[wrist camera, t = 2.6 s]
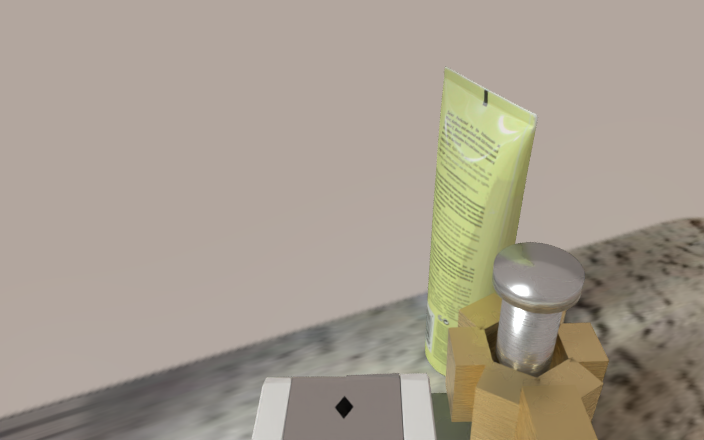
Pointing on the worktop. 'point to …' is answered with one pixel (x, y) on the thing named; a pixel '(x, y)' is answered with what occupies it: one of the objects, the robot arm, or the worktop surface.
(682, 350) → the worktop surface
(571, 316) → the worktop surface
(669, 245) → the worktop surface
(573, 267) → the post
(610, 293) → the worktop surface
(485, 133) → the tube
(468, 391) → the tan nut with handle
